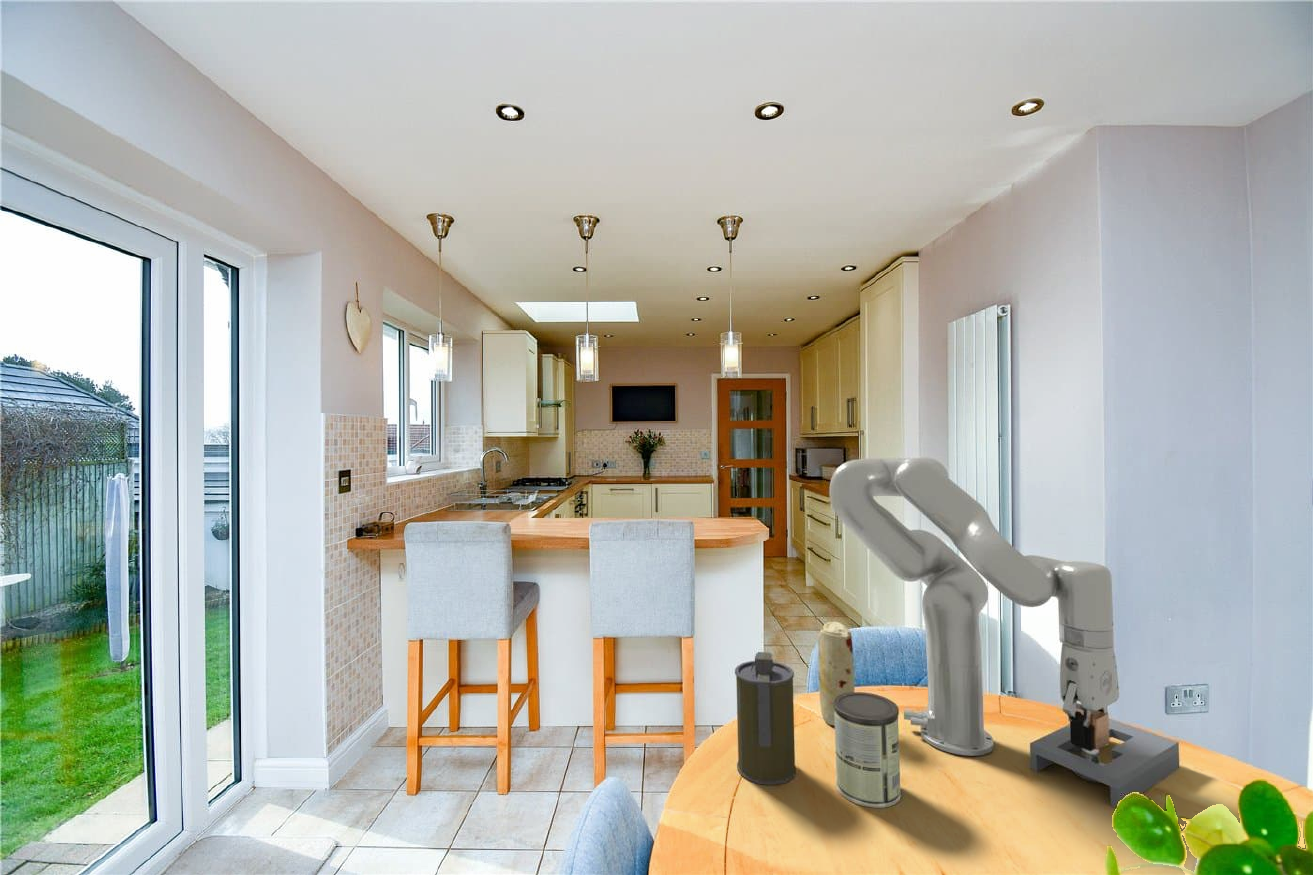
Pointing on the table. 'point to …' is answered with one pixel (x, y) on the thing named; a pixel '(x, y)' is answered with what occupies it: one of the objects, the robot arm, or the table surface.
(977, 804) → the table surface
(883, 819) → the table surface
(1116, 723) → the keyhole board
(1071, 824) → the table surface
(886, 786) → the coffee can
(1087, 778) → the peg
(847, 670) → the food model
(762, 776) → the canister
